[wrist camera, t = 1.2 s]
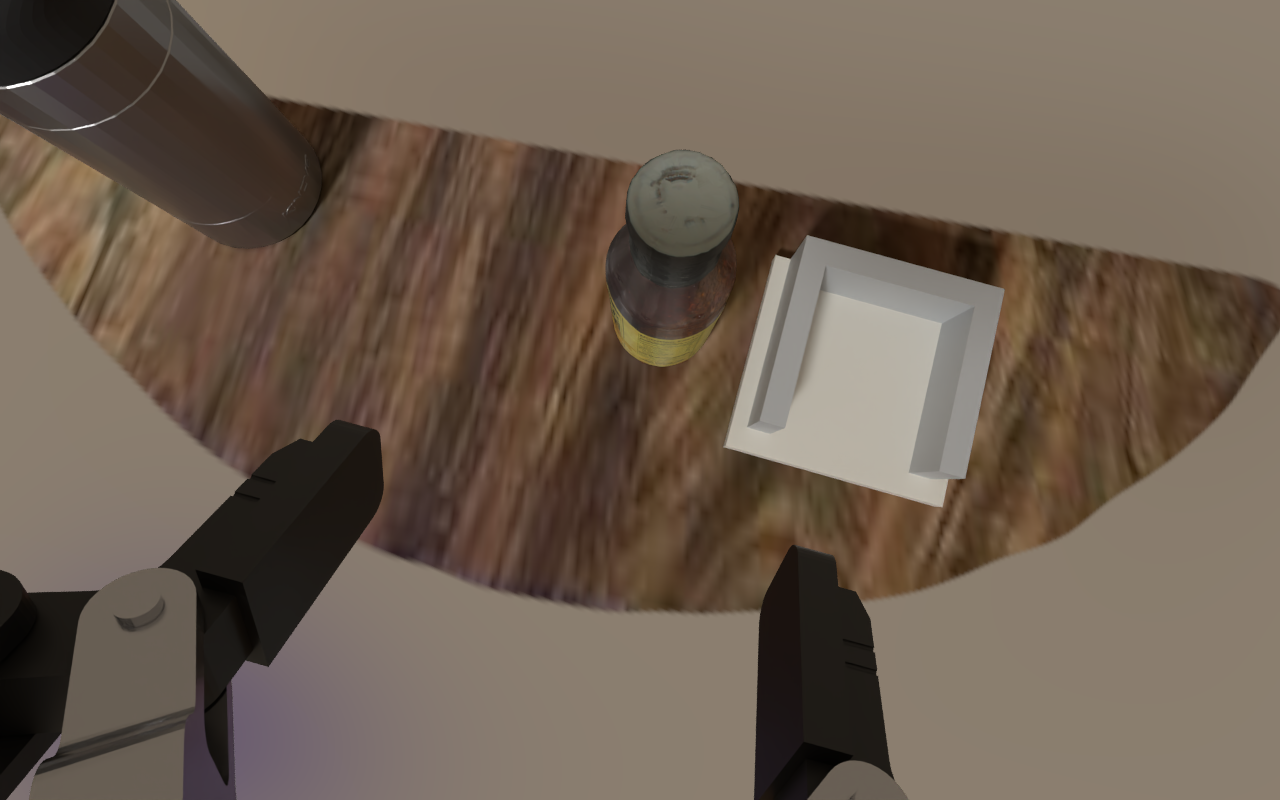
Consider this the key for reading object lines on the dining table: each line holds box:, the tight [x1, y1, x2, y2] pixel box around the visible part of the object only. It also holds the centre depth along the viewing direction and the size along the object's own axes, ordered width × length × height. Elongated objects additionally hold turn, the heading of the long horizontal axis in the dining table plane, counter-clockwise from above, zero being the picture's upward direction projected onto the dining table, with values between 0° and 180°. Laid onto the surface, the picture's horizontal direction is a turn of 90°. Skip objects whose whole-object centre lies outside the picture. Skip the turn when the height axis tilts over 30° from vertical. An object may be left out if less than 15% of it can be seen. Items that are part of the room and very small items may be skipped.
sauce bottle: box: [606, 150, 739, 367], centre depth 32 cm, size 6×6×20 cm
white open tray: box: [723, 235, 1005, 507], centre depth 39 cm, size 14×13×5 cm
